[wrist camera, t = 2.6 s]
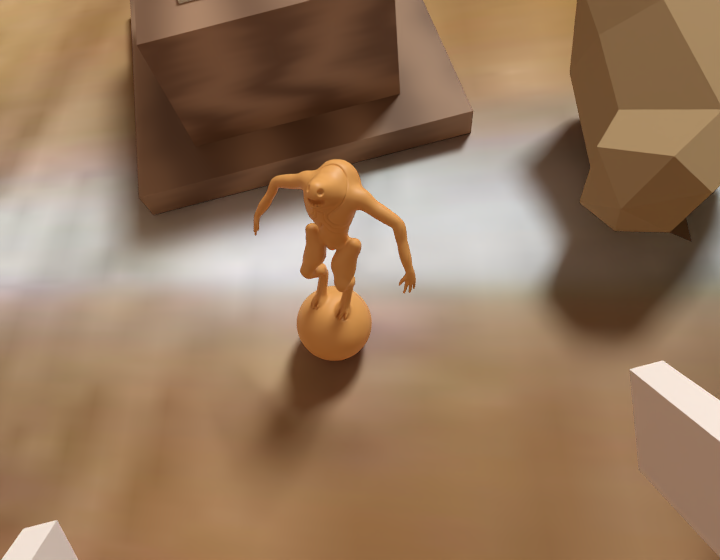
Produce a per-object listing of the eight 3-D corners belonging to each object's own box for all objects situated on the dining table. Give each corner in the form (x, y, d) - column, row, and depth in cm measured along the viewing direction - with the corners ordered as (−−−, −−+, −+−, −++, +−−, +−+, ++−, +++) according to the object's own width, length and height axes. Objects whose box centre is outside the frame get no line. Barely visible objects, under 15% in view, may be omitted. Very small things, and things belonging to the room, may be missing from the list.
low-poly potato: (612, 59, 37) (484, 38, 32) (786, -68, 28) (644, -128, 22) (673, 263, 34) (543, 275, 29) (890, 199, 25) (755, 200, 20)
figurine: (260, 338, 30) (171, 228, 20) (310, 254, 32) (253, 113, 22) (391, 397, 28) (370, 309, 17) (435, 302, 30) (440, 171, 19)
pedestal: (388, -55, 45) (379, -206, 36) (470, 132, 35) (486, -11, 26) (141, 9, 45) (69, -126, 36) (153, 215, 35) (57, 99, 26)
